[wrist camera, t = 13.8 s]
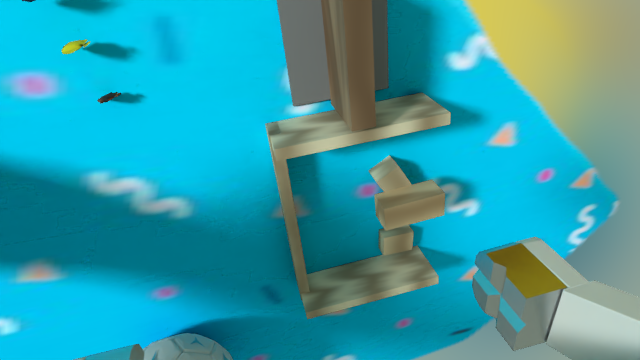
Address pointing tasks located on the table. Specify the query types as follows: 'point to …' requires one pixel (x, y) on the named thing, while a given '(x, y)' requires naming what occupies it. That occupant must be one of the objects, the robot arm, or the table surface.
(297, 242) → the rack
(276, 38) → the table surface
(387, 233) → the offcut
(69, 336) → the table surface
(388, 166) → the offcut
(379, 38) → the mat
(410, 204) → the offcut
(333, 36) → the walnut board
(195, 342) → the puzzle ball
